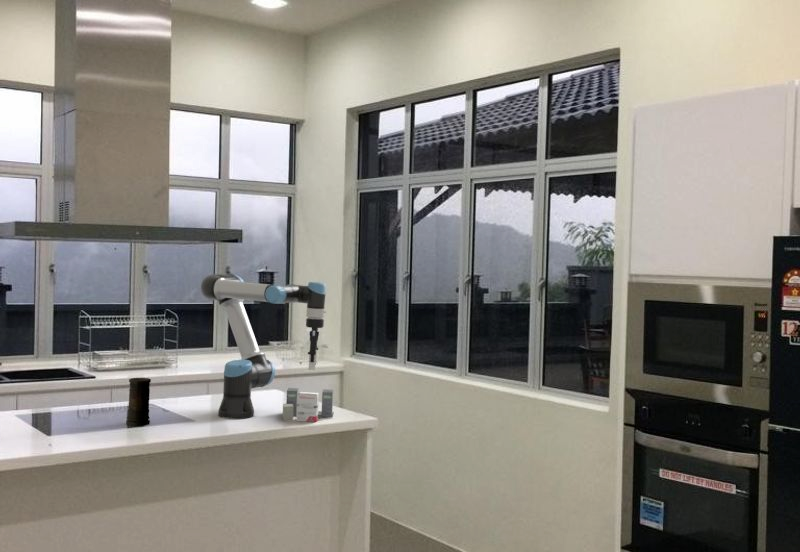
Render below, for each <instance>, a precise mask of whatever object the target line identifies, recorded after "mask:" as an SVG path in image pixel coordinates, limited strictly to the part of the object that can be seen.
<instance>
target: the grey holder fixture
mask: <svg viewBox="0 0 800 552" xmlns="http://www.w3.org/2000/svg"><path fill="white" fill-rule="evenodd" d="M299 390H300V389H299V388H296V387H288V388H287V390H286V403H285V404H293V406H294V407H293V417H297V400H298V393H299ZM321 397H322V398H321V411H320V410H318V418H326V417H334V413H335V412H334V411H333V410H334V407H333V406H334V389H325V388H324V389H322V395H321Z"/></svg>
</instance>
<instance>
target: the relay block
mask: <svg viewBox="0 0 800 552" xmlns="http://www.w3.org/2000/svg"><path fill="white" fill-rule="evenodd" d="M293 407H294V406H293V404H286V403H283V404H282V420H283V421H294V416H293Z"/></svg>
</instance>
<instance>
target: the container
mask: <svg viewBox="0 0 800 552" xmlns="http://www.w3.org/2000/svg"><path fill="white" fill-rule="evenodd" d="M128 382H129V389H128V391H129V392H128V393H129V394H128V408H127V417H126V419H127V420H126V422H125V424H126V425H127V426H132V427H143V426H144V427H145V426H148V425H150V423H151V422H150V393H151V389H150V387H151V386H150V385H151V383H152V379H151V378H148V377H133V378H128Z"/></svg>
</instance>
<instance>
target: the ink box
mask: <svg viewBox="0 0 800 552" xmlns="http://www.w3.org/2000/svg"><path fill="white" fill-rule="evenodd" d="M319 399H320V392H307V391H305V392H304V391H300V392H298V400H297V416H296V421H297V422H309V423H310V422H311V423H316V422H318V420H319V417H318V411H319V403H320V402H319V401H320V400H319Z"/></svg>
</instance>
